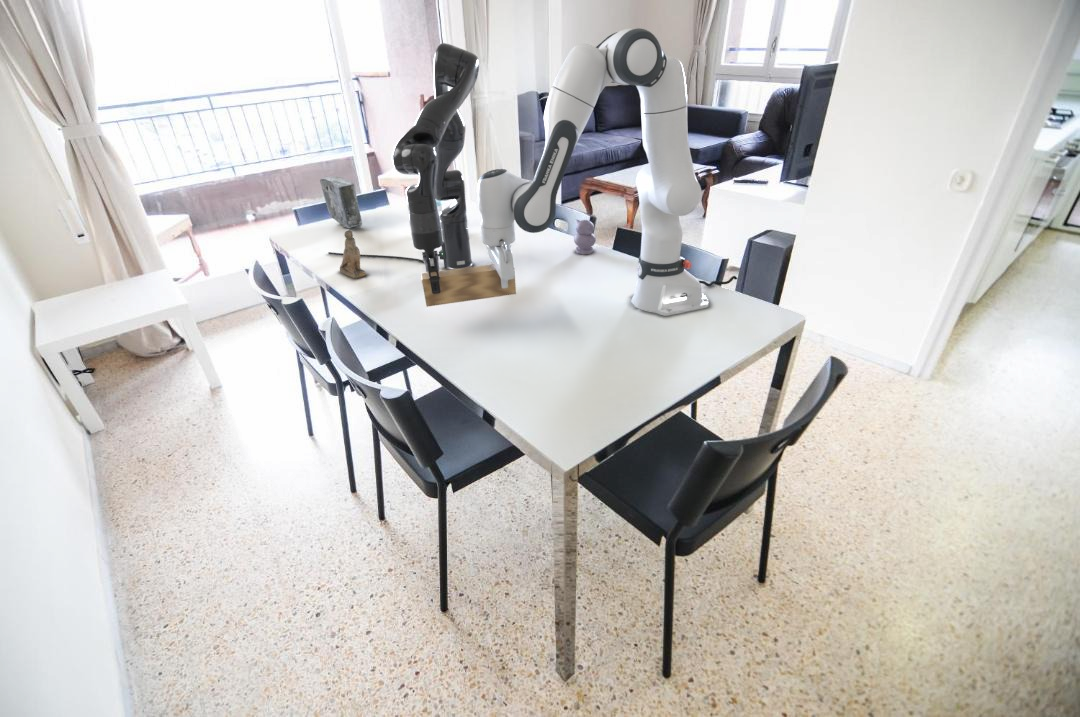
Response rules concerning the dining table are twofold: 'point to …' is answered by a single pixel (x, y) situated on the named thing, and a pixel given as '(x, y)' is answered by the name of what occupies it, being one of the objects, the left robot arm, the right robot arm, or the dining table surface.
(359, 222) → the concrete block
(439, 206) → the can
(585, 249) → the cat figurine
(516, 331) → the dining table surface
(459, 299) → the bar
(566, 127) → the right robot arm
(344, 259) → the brown carved statuette
